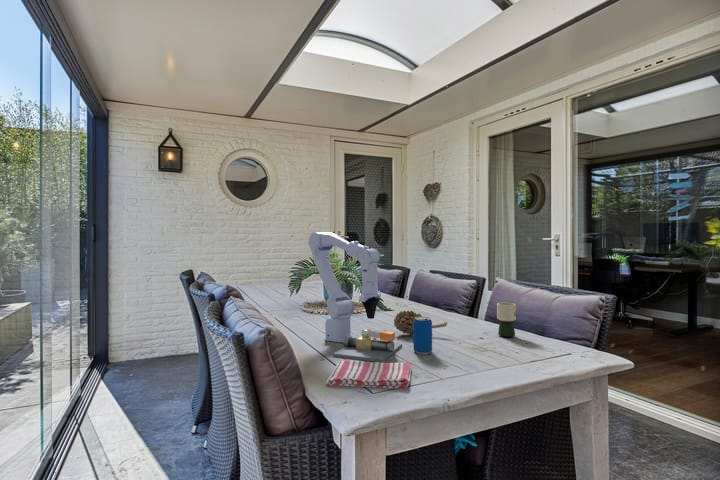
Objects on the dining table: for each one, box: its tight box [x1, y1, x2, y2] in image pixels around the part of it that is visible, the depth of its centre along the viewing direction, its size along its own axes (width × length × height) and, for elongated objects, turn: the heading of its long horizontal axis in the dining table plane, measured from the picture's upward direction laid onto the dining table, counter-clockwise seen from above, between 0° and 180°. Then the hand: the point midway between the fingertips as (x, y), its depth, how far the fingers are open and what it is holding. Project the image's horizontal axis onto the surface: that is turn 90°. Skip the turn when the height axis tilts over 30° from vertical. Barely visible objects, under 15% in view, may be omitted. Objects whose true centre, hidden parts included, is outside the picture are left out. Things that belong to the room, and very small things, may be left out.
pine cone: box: [393, 310, 449, 336], centre depth 168 cm, size 22×10×10 cm, turn 81°
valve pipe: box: [343, 335, 395, 352], centre depth 147 cm, size 18×5×4 cm, turn 66°
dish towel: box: [326, 360, 412, 390], centre depth 122 cm, size 17×23×4 cm
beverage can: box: [412, 316, 433, 355], centre depth 145 cm, size 6×6×12 cm
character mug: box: [496, 302, 517, 338], centre depth 165 cm, size 11×7×13 cm, turn 177°
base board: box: [332, 342, 403, 363], centre depth 147 cm, size 18×20×1 cm
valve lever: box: [361, 328, 396, 342], centre depth 145 cm, size 12×3×2 cm, turn 62°
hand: (370, 318), depth 153 cm, fingers closed
